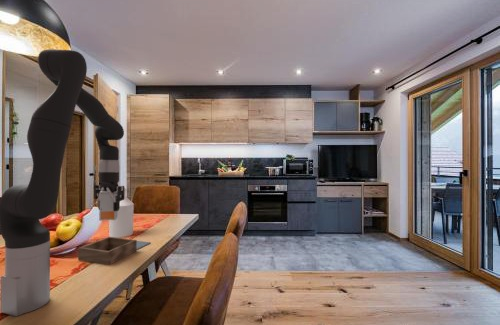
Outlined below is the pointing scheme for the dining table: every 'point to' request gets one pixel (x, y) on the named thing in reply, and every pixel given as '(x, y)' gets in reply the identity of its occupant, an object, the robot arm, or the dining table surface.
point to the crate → (99, 255)
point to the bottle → (123, 219)
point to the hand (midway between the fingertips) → (108, 210)
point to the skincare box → (107, 207)
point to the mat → (141, 244)
